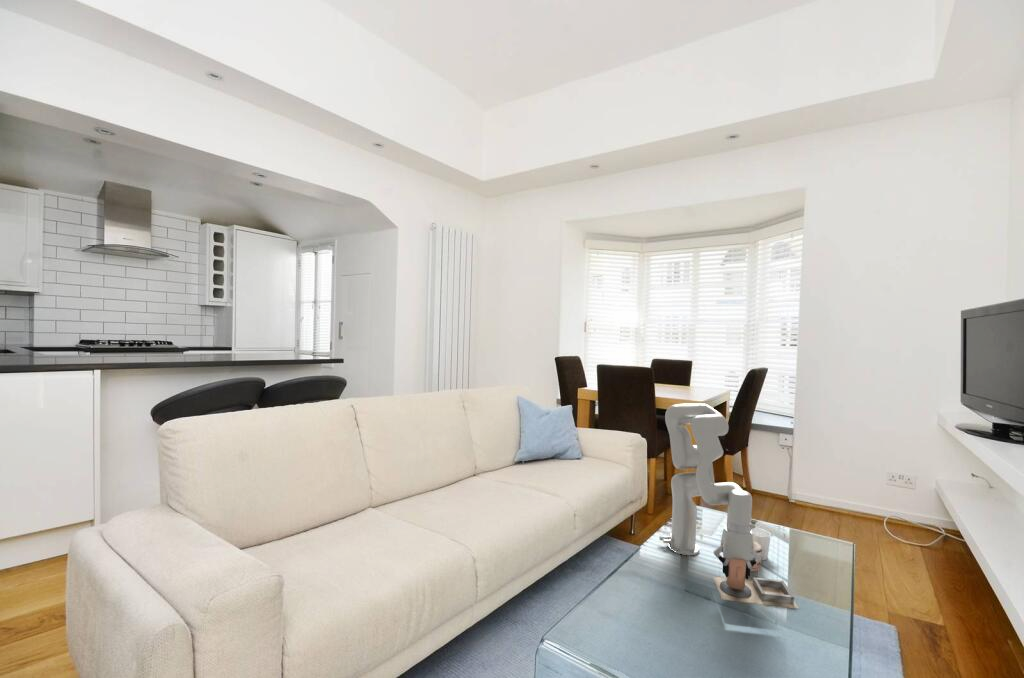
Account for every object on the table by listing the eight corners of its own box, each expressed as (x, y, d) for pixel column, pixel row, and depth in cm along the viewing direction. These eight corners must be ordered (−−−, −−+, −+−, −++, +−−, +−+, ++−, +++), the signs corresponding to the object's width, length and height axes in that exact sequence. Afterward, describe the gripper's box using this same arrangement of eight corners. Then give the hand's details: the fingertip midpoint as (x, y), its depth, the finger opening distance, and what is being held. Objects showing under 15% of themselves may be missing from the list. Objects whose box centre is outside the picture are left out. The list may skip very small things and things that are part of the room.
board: (721, 602, 164) (722, 592, 164) (712, 579, 178) (713, 570, 178) (799, 612, 160) (799, 601, 160) (783, 587, 174) (784, 577, 173)
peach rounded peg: (724, 578, 173) (725, 551, 173) (742, 580, 172) (743, 553, 172) (729, 590, 166) (731, 562, 165) (748, 593, 165) (750, 564, 164)
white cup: (764, 551, 199) (765, 528, 198) (772, 562, 191) (774, 537, 191) (744, 550, 200) (745, 527, 199) (751, 560, 192) (753, 536, 191)
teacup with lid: (755, 576, 180) (757, 546, 180) (730, 567, 187) (732, 537, 186) (767, 565, 189) (768, 536, 188) (742, 556, 195) (744, 528, 194)
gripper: (761, 524, 170) (759, 573, 172) (710, 519, 174) (707, 567, 175) (769, 533, 163) (766, 585, 164) (714, 528, 166) (712, 579, 168)
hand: (735, 575), depth 170 cm, fingers closed on peach rounded peg, 5 cm apart
